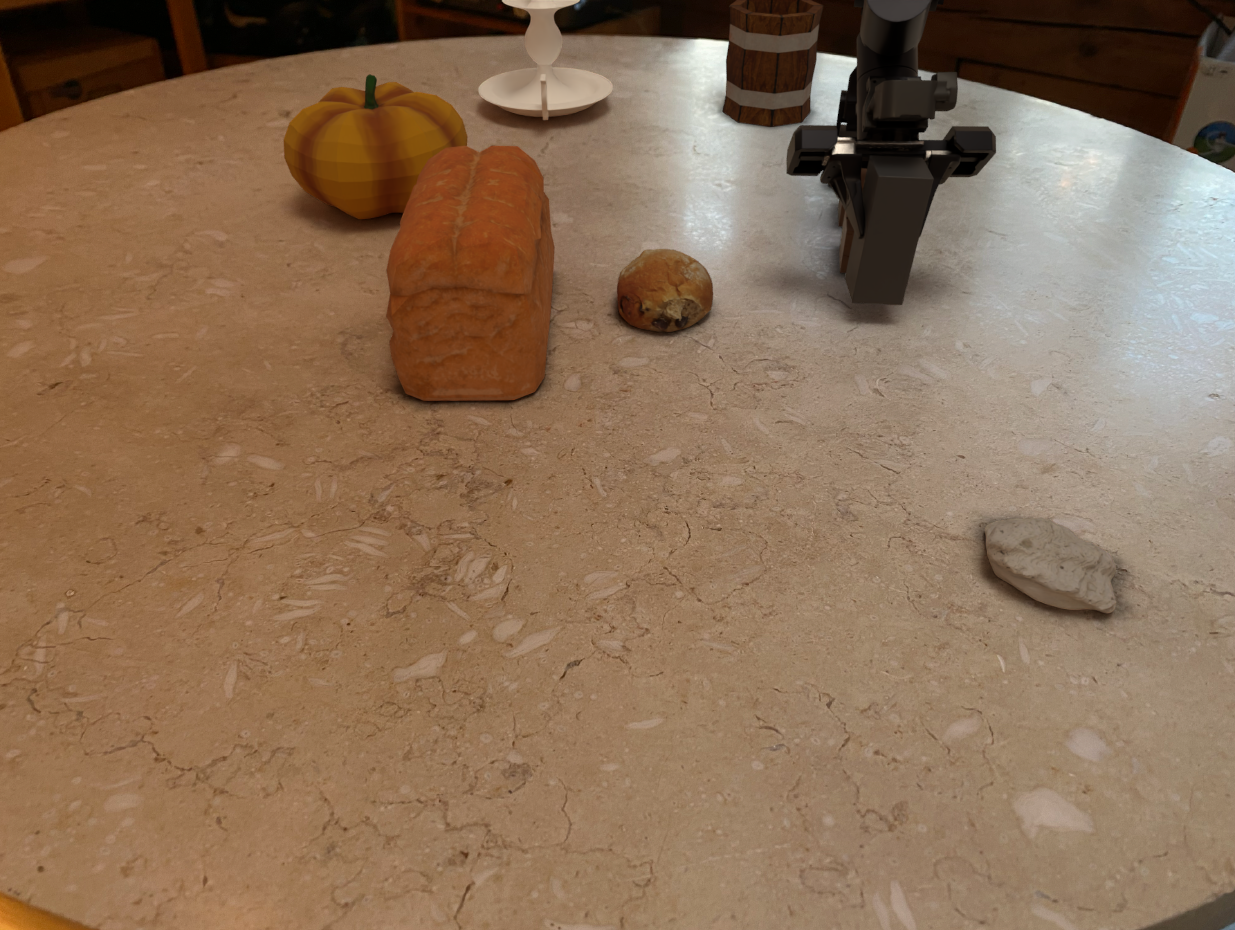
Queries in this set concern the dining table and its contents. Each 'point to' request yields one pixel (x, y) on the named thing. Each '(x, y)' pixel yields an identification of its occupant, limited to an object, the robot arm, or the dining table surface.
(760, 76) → the mug
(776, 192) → the dining table surface
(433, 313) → the bread
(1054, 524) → the stone
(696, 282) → the bread roll
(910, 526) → the dining table surface
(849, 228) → the block
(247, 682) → the dining table surface
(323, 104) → the decorative pumpkin
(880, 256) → the tall block
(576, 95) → the candlestick
